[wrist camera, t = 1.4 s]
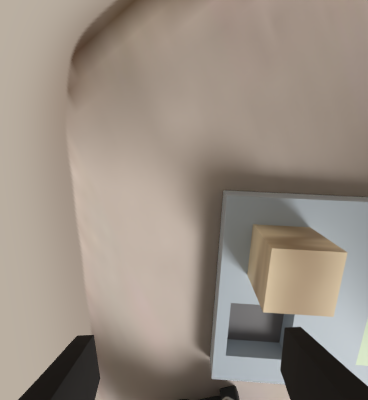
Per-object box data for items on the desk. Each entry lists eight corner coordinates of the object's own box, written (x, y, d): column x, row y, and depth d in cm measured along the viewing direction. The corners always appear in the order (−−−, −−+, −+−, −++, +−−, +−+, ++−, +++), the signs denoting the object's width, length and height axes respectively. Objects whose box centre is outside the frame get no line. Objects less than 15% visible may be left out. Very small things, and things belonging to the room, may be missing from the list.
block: (309, 227, 16) (347, 252, 12) (301, 278, 17) (333, 316, 13) (252, 224, 16) (271, 248, 12) (247, 274, 17) (263, 312, 13)
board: (462, 201, 17) (529, 214, 14) (407, 371, 21) (449, 415, 17) (223, 190, 18) (230, 200, 14) (209, 357, 21) (213, 397, 18)
